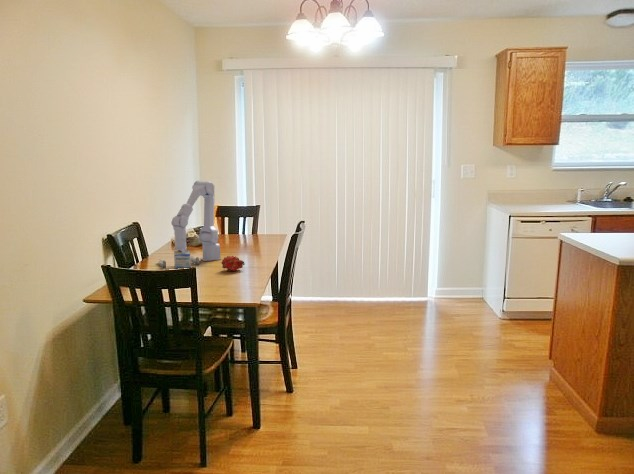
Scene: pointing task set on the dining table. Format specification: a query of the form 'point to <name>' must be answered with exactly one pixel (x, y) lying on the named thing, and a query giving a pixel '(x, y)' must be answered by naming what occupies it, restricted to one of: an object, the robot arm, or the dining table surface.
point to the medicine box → (182, 259)
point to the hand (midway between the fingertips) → (181, 264)
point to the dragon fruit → (232, 263)
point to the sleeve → (195, 261)
